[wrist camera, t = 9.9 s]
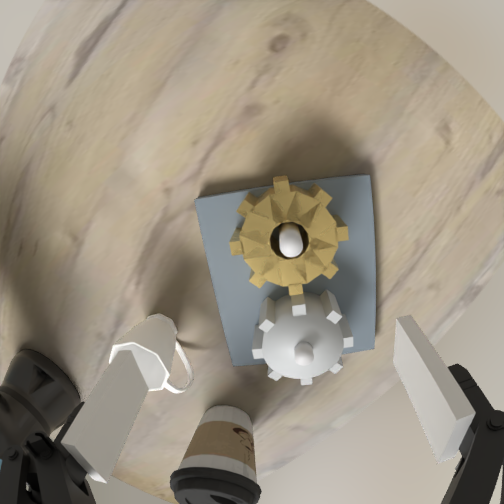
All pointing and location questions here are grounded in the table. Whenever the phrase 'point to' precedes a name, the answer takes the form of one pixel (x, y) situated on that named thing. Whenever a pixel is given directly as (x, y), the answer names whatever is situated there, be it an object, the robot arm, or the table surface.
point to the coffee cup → (219, 461)
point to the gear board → (314, 293)
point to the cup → (155, 351)
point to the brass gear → (268, 248)
